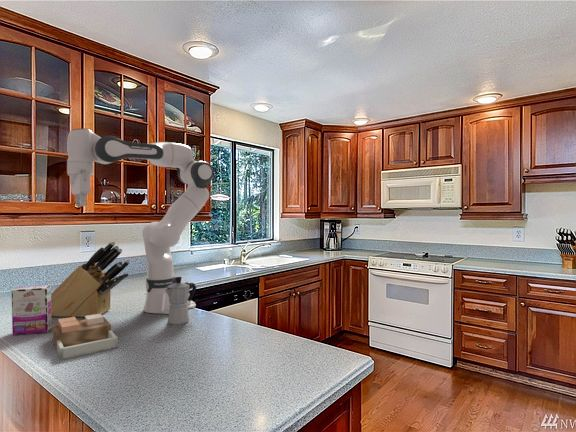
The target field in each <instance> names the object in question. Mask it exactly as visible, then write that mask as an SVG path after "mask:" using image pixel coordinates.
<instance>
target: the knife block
mask: <svg viewBox="0 0 576 432" xmlns="http://www.w3.org/2000/svg"><path fill="white" fill-rule="evenodd" d="M122 252H123V249H122V248H120V247H119V246H118V245H116V243H115V242H114V241H112V240H111V241H110V242H109V243H108V244H107V245H106V246H105V247H100V248H98V250H97V251H95V252H94V253H93V255H91V257H89V259H88V261H87V262H86V263H83V264H80V265H79V266H78V267H76V268H75V269H74V270H73V271H72V272H71V273H70V274H68V276H66V278H65V279H64V281H62V282H61V283H60V284H59V285H58V286H57V288H55V289H54V290H53V291H52V292H51V309H52V317H75V318H76V317H79V318H80V317H84V318H85V316H88V315H94V314H101V315H102V314H105V313H106V312H108V311H110V310H111V290H112V289H114V288H115V287H116V286H117V285H119V283H121V282H122V281H123V280H124V279H126V278H127V277H128V276H129V273H123V274H121V275H119V274H120V273H121V272H123V271H124V269H126V268H127V266H129V264H130V262H131V261H129V260H126V261H124V263H123V262H122V261H119V262H116V263H114V264H113V265H112V266H111V267H110V268H109V269H108V270H106V271H105V269H107V268H108V267H109V266H110V265H111V264H112V263H113V262H114V261H115V260H116V259H117V258H118V257H119V256H120V255H121V254H122ZM118 275H119V276H118Z"/></svg>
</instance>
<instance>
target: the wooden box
mask: <svg viewBox="0 0 576 432" xmlns="http://www.w3.org/2000/svg"><path fill="white" fill-rule="evenodd" d="M102 316H103V315H102ZM103 317H104V322H103V323H98V324H92V325H87V324H86V322H85V319H81V320H77V321H78V322H79V324H80V330H79V331H73V332H68V333H62V332H61V330H60V328H59V326H58V323H57V324H52V341H53V343H54V346H55V348H56V350H57V340H61V342H62V344H63V347H67V346H72V345H77V344H82V343H87V342H92V341H97V340H102V339H106V338H108V331H109V330H112V324H111V323H110V322H109V321H108V320H107V319H106V318H105V316H103Z"/></svg>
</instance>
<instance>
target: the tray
mask: <svg viewBox="0 0 576 432" xmlns="http://www.w3.org/2000/svg"><path fill="white" fill-rule="evenodd" d="M114 347H117V348H119V338H118V336H117V335H116V334H115V333H114V332H113V330H112V329H111V330H109V331H108V338H106V339H102V340H97V341H92V342H87V343H82V344H77V345H72V346H67V347H63V344H62V342H61V340H57V349H56V353H57V354H58V357H59V359H60V361H62V360H66V359H71V358H76V357H80V356H84V355H89V354H94V353H98V352H97V351H99V352H102V351H101V350H104V351H107V350H106V349H108V350H111V349H110V348H113V349H115V348H114ZM93 352H94V353H93Z"/></svg>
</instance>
